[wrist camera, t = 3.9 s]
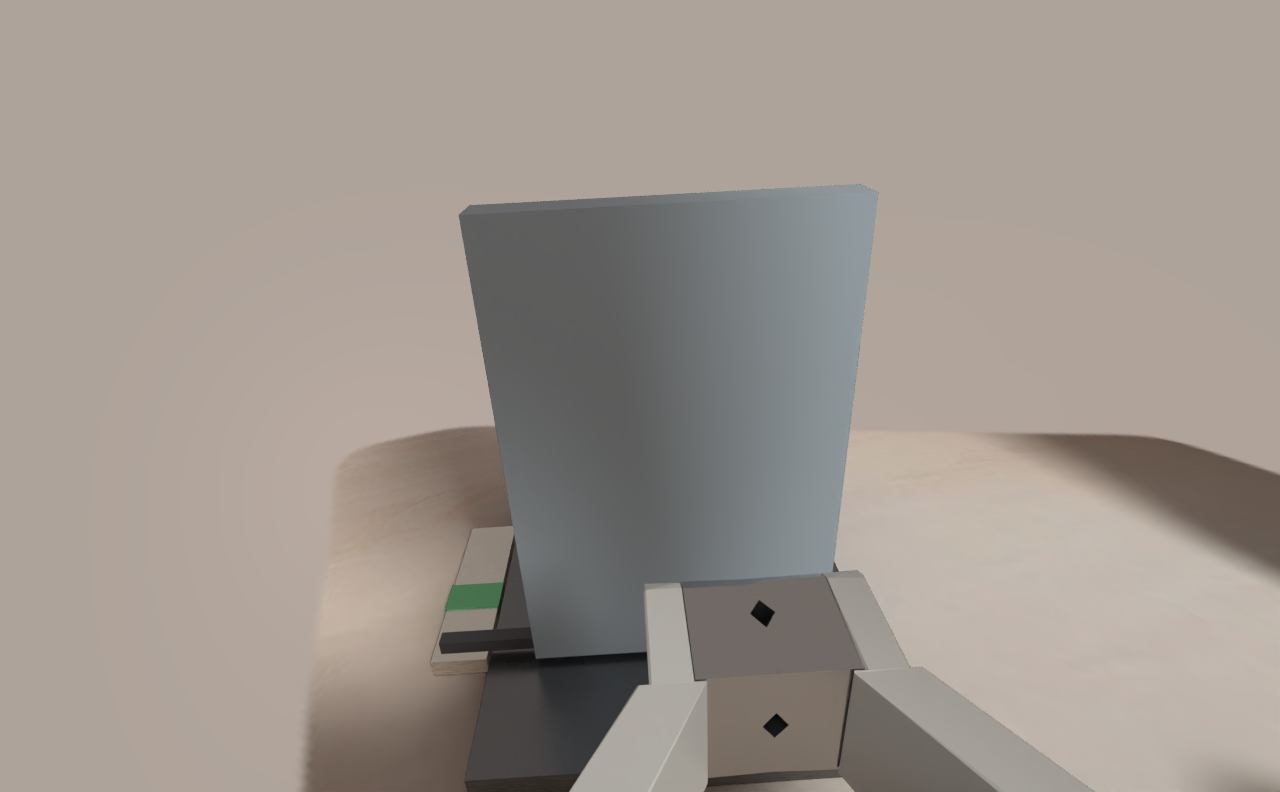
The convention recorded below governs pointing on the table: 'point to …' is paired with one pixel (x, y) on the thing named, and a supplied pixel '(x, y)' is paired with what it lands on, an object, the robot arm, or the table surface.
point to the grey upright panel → (666, 394)
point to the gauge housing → (538, 685)
